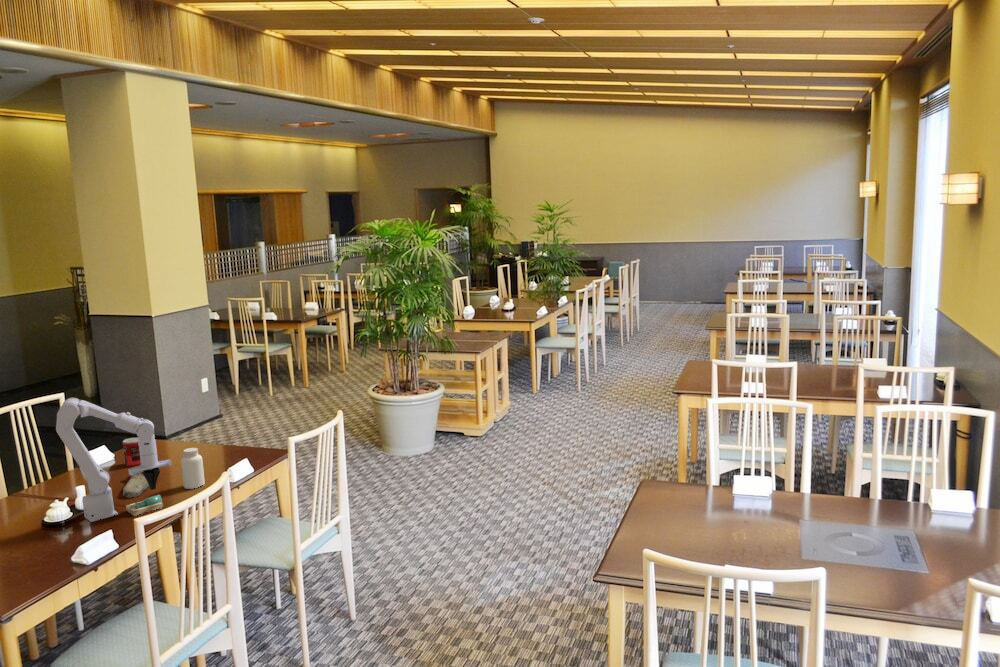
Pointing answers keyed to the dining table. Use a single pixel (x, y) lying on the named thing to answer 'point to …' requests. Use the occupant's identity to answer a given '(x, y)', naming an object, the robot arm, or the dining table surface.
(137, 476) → the grey rock slab
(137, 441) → the canned food
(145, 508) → the cradle
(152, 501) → the bottle
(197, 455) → the pill bottle
